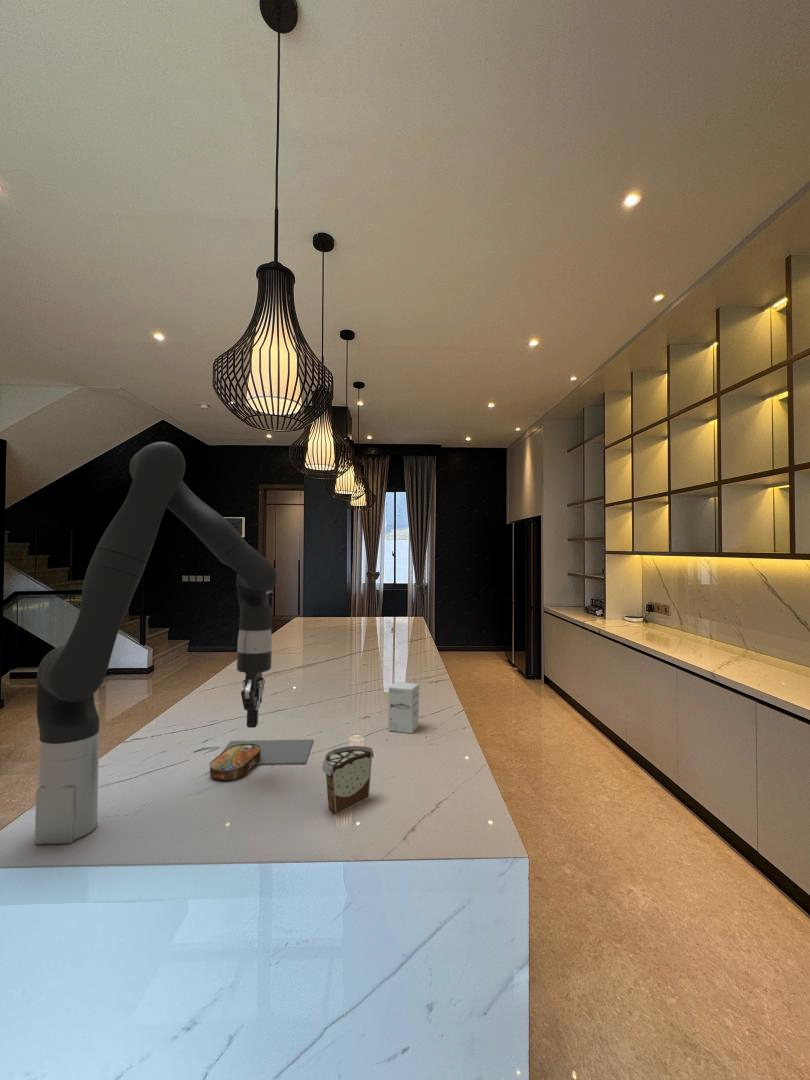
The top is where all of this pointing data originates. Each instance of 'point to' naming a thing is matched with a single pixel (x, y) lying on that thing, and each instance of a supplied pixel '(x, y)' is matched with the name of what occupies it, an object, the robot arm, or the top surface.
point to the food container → (347, 776)
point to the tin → (235, 761)
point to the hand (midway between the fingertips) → (252, 726)
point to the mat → (280, 751)
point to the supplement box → (403, 707)
